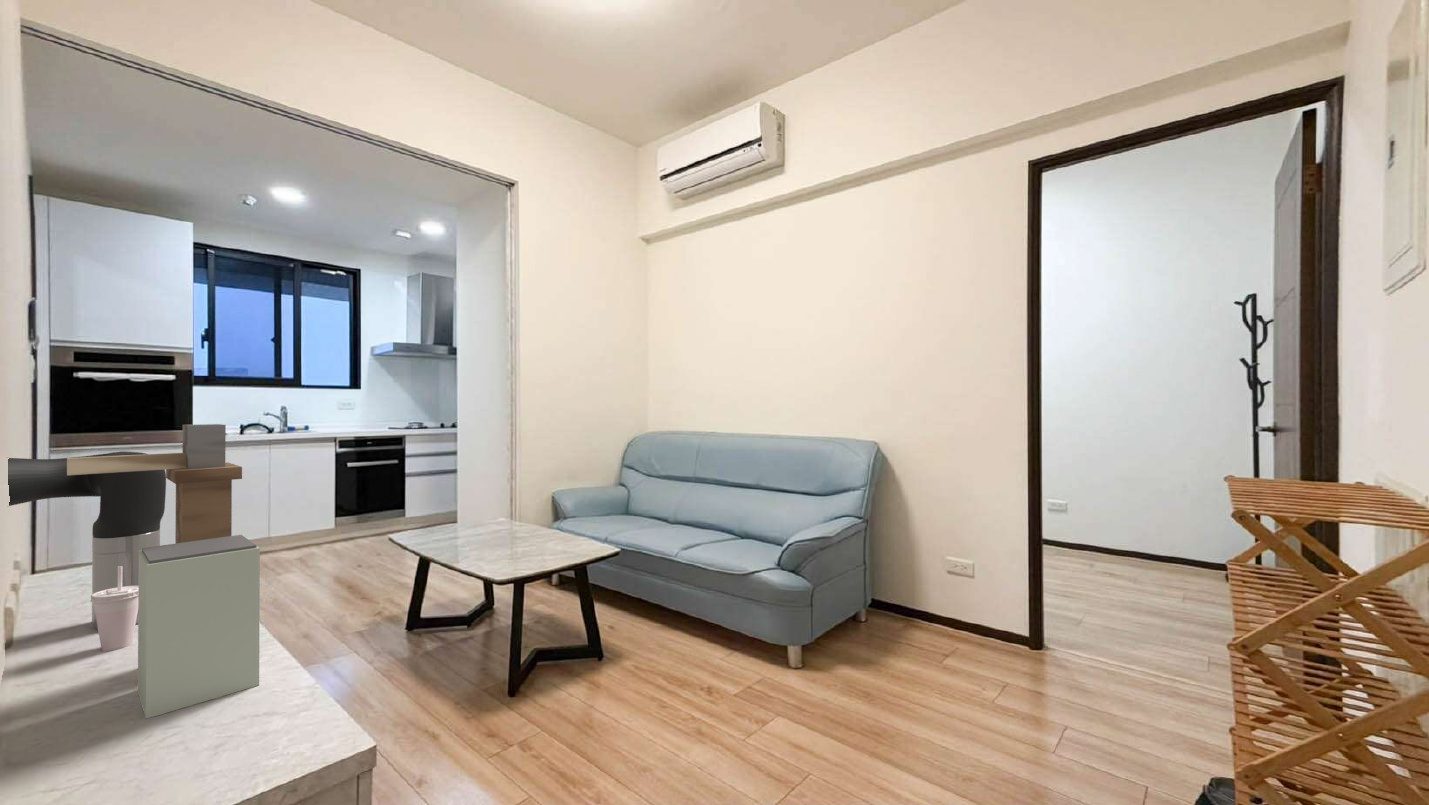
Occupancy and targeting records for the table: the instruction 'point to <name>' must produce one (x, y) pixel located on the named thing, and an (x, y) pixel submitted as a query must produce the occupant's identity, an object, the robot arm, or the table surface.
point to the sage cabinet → (197, 622)
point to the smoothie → (116, 614)
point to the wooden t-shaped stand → (203, 501)
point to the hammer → (163, 455)
